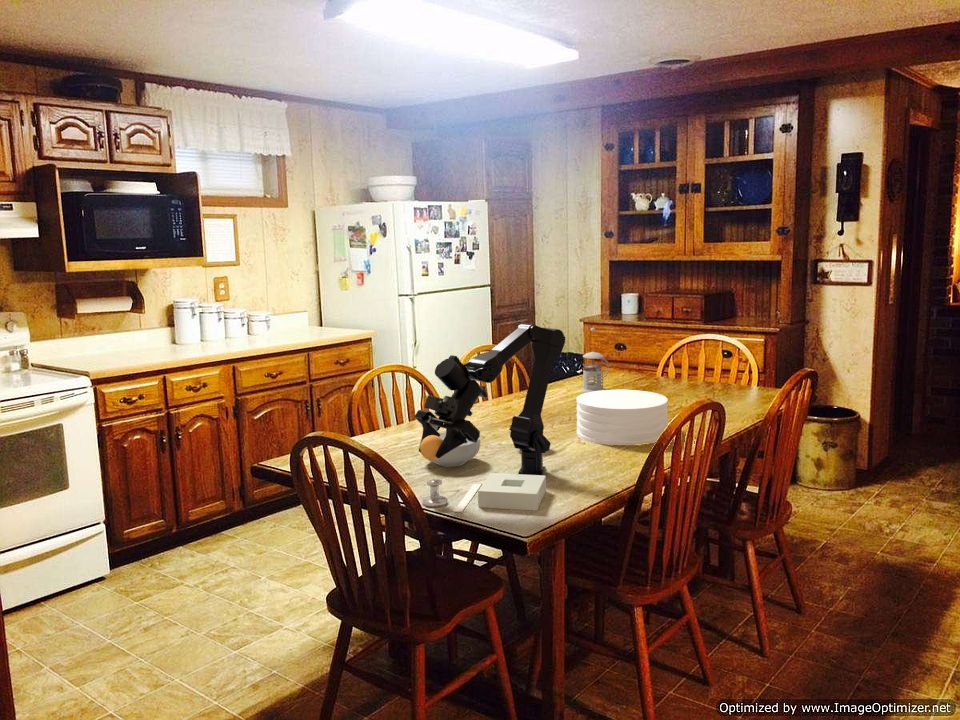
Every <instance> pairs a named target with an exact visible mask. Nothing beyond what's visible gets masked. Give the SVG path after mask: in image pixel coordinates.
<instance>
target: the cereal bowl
mask: <svg viewBox="0 0 960 720" xmlns="http://www.w3.org/2000/svg"><path fill="white" fill-rule="evenodd" d="M438 433H439V434H440V436H439V437H440V438H441V439H442V440H444V438H445V436H446V431H442V432H438ZM466 440H467V439H466ZM467 441H468V440H467ZM420 443H421V440H420ZM480 447H481V437H479V439H478V440H477V442H476V443H474V442H471V441H468V442H467V443H464V444H462V445H460V446H458V447H456V448H455V449H453V450H451V451H450V452H448V453H447V454H445V455H443V456H442V457H441V458H440V459H438V460H434V461H431V460H428V461H429V462H432V463H435V464H437V465H438V466H441V467H445V468H446V467H447V468H448V467H450V468H451V467H458V466H462V465H464V464H465V463H467V462H468V461H471V460H472V459H473V458H475V457H476V456H477V454H478V453H479V451H480V449H481V448H480Z"/></svg>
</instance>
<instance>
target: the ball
mask: <svg viewBox="0 0 960 720" xmlns="http://www.w3.org/2000/svg"><path fill="white" fill-rule="evenodd" d="M442 442H443V440H442V439H441V438H440V437H438V436H435V435H430V436H427V437H426V438H424V439H423V441H422V442H421V445H420V444H419V447H420V451H421V453H420V454H421V455H422V456H423V458H425V459H426V460H428V461H429V460H431V461H434V460H438V459H440V458H441V457H440V458H437V457H436V456H435V455H436V453H437V451H438V449H439V447H440V445H441V443H442ZM431 461H430V462H431Z"/></svg>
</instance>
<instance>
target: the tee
mask: <svg viewBox="0 0 960 720" xmlns="http://www.w3.org/2000/svg"><path fill="white" fill-rule="evenodd" d="M442 483H443V481H442V480H441V479H439V478H431V479H428V480H426V486H429V487H430V496H426V497H424V498H423V499H422V500H421V501H422V505H423V506H424V507H426V508H441V507H444V506H446V505H448V498H447V497H445V496H443V495H440V492H439V490H440V489H439V486H441V485H443V484H442Z"/></svg>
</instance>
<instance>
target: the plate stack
mask: <svg viewBox="0 0 960 720" xmlns="http://www.w3.org/2000/svg"><path fill="white" fill-rule="evenodd" d="M668 402H669V399H668V398H667V397H666V396H665V395H664V394H663V395H662V394H660V393H658V392H657V393H656V392H654V391H653V392H651V391H647V390H646V391H645V390H639V389H637V390H635V389H605V390H600V391H593V392H584V393H581V394H580V395H578V396H577V397H576V404H577V405H576V412H577V413H576V420H577V421H576V435H578V436H577V437H578V438H579V439H581V440H583V441H586V442H589V443H592V442H594V444H597V443H599V444H598V445H603V444H607V445H606V446H613V445H635V444H643V443H652V442H653V444H656V443H655V441H656V440H657V439H658V437H659V436H660V434H661V433H662V432H663V431H664V429H665V428H666V427H667V428H668V412H669V411H668V410H669V409H668V404H669V403H668Z"/></svg>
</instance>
